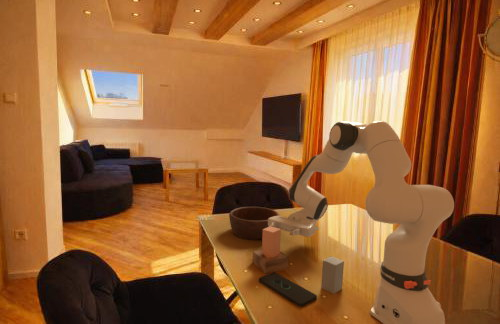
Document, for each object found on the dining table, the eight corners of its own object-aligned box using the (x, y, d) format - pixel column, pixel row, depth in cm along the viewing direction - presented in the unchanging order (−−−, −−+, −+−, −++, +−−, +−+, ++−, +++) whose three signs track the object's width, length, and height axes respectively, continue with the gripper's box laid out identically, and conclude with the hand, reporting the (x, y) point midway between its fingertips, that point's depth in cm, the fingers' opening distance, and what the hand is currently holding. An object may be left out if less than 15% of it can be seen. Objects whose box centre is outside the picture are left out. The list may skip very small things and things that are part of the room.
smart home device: (274, 271, 118) (318, 295, 102) (274, 275, 118) (317, 300, 103) (257, 277, 112) (300, 304, 97) (257, 282, 112) (300, 309, 97)
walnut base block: (287, 269, 123) (288, 256, 122) (265, 274, 118) (265, 261, 118) (273, 258, 132) (274, 247, 131) (252, 263, 127) (252, 251, 126)
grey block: (342, 288, 109) (344, 261, 108) (333, 293, 106) (335, 265, 104) (329, 283, 113) (331, 256, 111) (321, 287, 109) (322, 260, 108)
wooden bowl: (218, 231, 161) (219, 211, 160) (255, 221, 178) (255, 203, 176) (251, 247, 143) (252, 224, 141) (289, 234, 159) (290, 214, 158)
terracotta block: (279, 253, 124) (280, 229, 123) (272, 257, 121) (273, 232, 119) (269, 250, 128) (270, 226, 126) (262, 254, 124) (262, 229, 122)
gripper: (277, 210, 146) (260, 217, 135) (319, 220, 134) (303, 228, 123) (277, 223, 147) (259, 231, 136) (318, 234, 135) (302, 244, 124)
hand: (280, 230), depth 129 cm, fingers open, 8 cm apart
